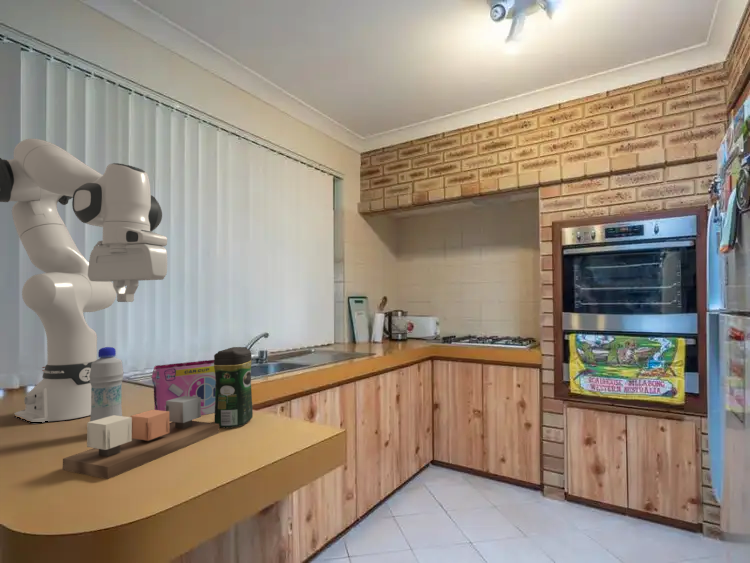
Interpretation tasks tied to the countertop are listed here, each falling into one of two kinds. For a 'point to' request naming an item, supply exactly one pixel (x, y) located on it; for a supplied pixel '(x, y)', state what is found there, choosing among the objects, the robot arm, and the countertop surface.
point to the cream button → (109, 432)
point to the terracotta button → (150, 424)
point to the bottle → (106, 385)
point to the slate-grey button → (184, 409)
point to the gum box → (185, 383)
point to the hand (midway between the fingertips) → (125, 302)
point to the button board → (138, 450)
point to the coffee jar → (233, 387)
